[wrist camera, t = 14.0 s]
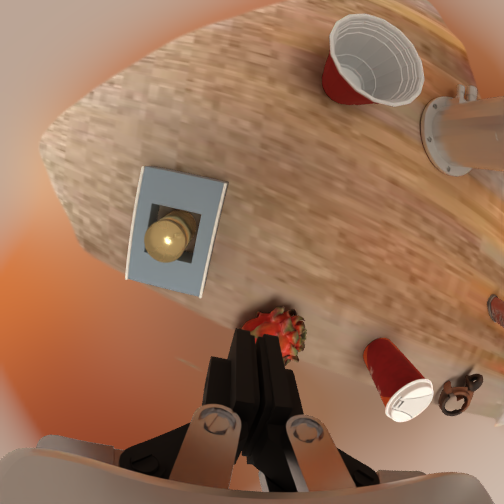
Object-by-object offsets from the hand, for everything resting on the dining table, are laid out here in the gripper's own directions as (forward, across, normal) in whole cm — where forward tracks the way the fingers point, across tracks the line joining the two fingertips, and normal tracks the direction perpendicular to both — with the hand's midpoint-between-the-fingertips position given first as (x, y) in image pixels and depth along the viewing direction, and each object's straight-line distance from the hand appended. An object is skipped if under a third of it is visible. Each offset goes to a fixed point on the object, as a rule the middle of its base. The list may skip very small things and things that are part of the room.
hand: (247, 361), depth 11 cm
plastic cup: (+27, -8, -22) cm, 36 cm away
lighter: (+27, -54, +3) cm, 61 cm away
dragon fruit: (+27, -7, +14) cm, 32 cm away
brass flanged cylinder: (+27, +8, +2) cm, 28 cm away
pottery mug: (+27, -55, +23) cm, 66 cm away
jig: (+27, +8, +2) cm, 28 cm away
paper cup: (+27, -27, +15) cm, 41 cm away
